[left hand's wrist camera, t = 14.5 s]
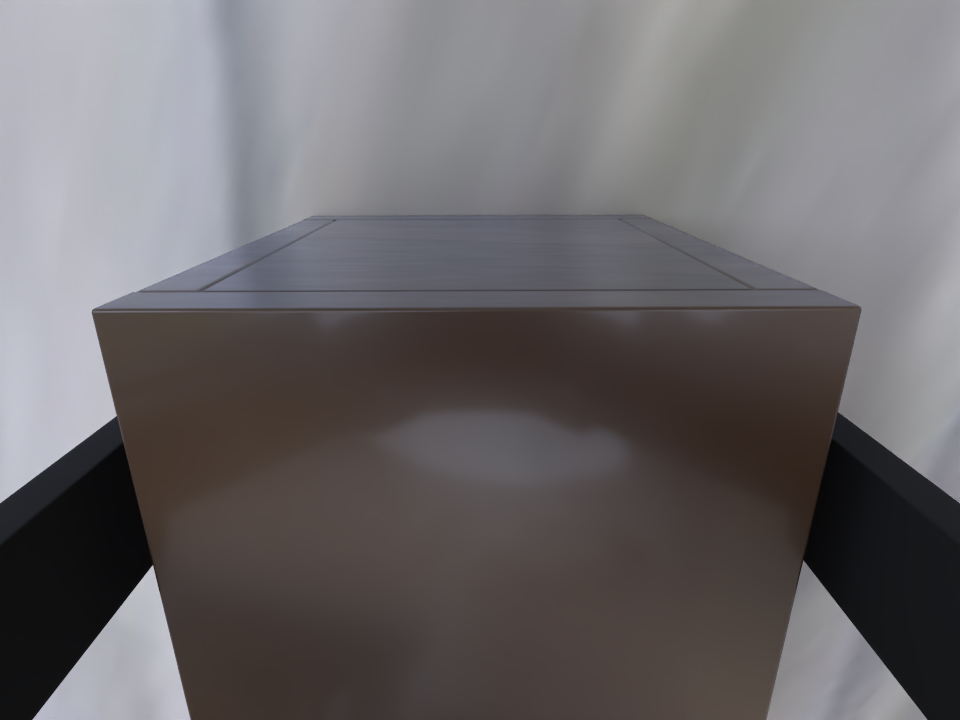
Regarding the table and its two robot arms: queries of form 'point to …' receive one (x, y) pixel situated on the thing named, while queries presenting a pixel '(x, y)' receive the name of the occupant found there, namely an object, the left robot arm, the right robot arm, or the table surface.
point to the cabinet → (477, 467)
